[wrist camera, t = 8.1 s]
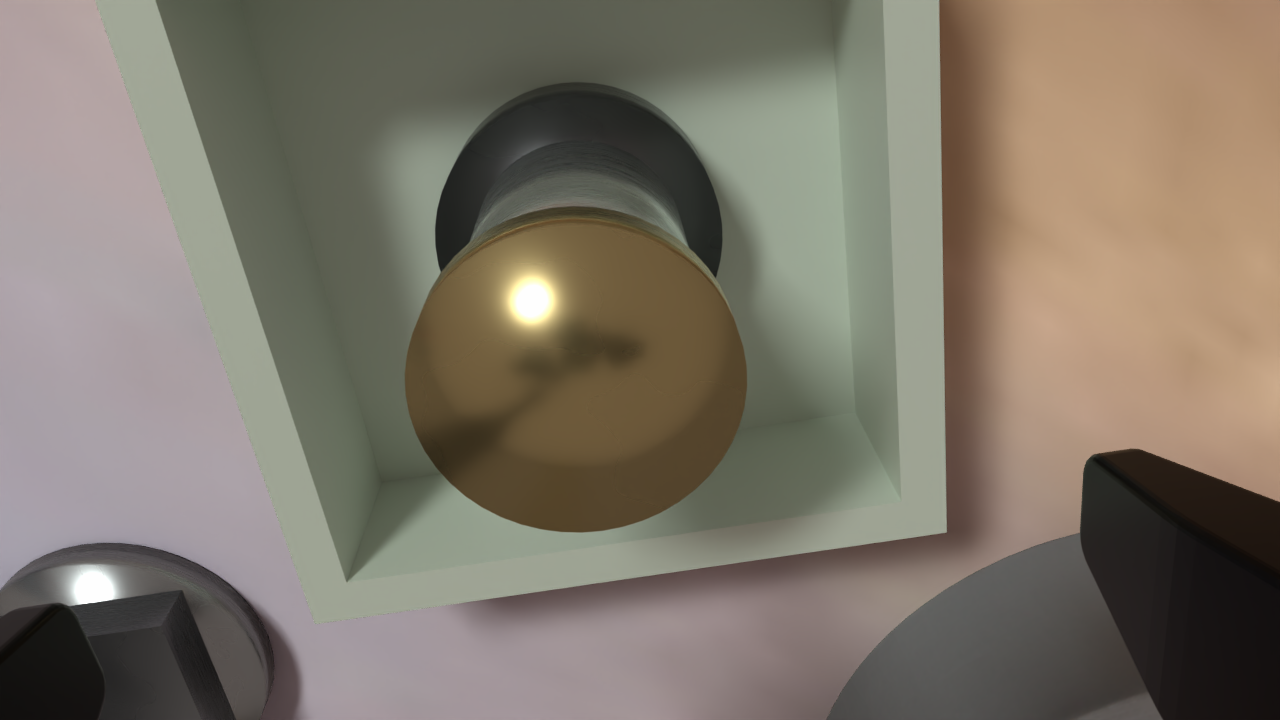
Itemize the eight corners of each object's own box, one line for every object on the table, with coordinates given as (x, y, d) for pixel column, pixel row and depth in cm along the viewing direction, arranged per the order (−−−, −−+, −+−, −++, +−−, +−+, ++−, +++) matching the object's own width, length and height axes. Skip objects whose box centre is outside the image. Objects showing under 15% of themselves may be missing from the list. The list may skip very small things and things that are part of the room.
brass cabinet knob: (697, 62, 18) (762, 162, 11) (725, 320, 20) (793, 529, 13) (419, 103, 18) (323, 225, 11) (475, 356, 20) (422, 581, 13)
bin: (886, 426, 22) (946, 532, 18) (359, 503, 22) (315, 624, 18) (861, -173, 17) (936, -191, 13) (184, -66, 17) (75, -56, 13)
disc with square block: (306, 738, 25) (284, 805, 23) (52, 775, 25) (9, 844, 23) (225, 523, 22) (192, 580, 20) (-61, 565, 22) (-119, 625, 20)
